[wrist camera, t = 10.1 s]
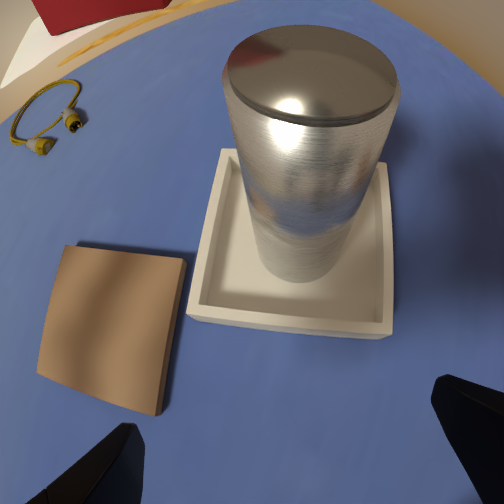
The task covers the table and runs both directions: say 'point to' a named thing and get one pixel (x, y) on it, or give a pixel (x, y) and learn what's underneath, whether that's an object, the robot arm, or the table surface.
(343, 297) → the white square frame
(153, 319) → the walnut board
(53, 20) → the storage cube
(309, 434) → the table surface
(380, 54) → the shiny metal canister
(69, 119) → the extension cord
